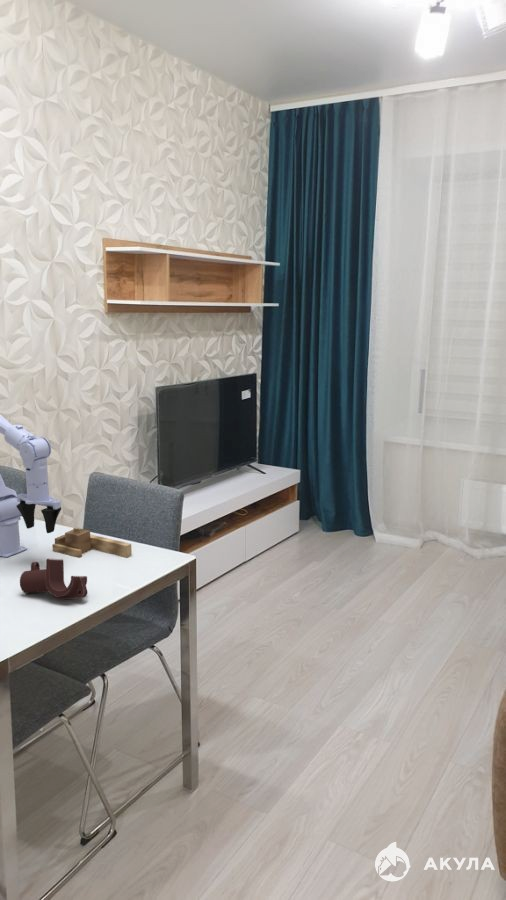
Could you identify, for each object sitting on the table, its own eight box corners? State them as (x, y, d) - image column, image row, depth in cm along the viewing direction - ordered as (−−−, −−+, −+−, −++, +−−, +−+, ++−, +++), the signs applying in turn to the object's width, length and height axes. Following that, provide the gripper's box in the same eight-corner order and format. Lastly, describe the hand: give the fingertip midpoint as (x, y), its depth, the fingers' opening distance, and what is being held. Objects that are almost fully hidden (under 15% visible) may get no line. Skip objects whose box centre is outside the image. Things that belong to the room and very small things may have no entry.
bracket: (78, 597, 172) (77, 555, 174) (19, 602, 177) (18, 561, 179) (92, 596, 177) (91, 556, 179) (34, 601, 183) (33, 562, 185)
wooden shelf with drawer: (52, 550, 209) (52, 539, 208) (74, 541, 217) (74, 530, 216) (110, 565, 198) (109, 553, 198) (131, 555, 206) (131, 543, 205)
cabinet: (66, 552, 208) (64, 529, 207) (77, 547, 213) (76, 524, 211) (79, 555, 206) (78, 532, 204) (91, 550, 210) (89, 527, 209)
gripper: (7, 482, 196) (10, 529, 199) (46, 489, 189) (49, 538, 192) (26, 476, 202) (29, 522, 205) (65, 483, 195) (67, 530, 198)
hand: (40, 529), depth 199 cm, fingers open, 7 cm apart
